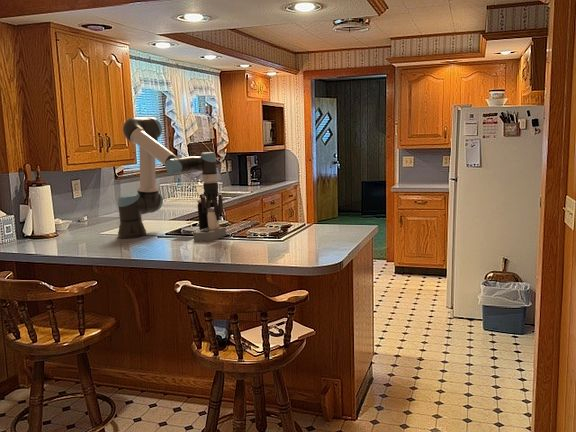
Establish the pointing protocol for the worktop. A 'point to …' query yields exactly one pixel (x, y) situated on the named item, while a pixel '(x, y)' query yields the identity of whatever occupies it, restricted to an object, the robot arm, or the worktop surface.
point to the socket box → (209, 234)
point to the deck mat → (183, 238)
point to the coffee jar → (202, 215)
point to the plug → (211, 218)
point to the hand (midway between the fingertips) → (213, 226)
